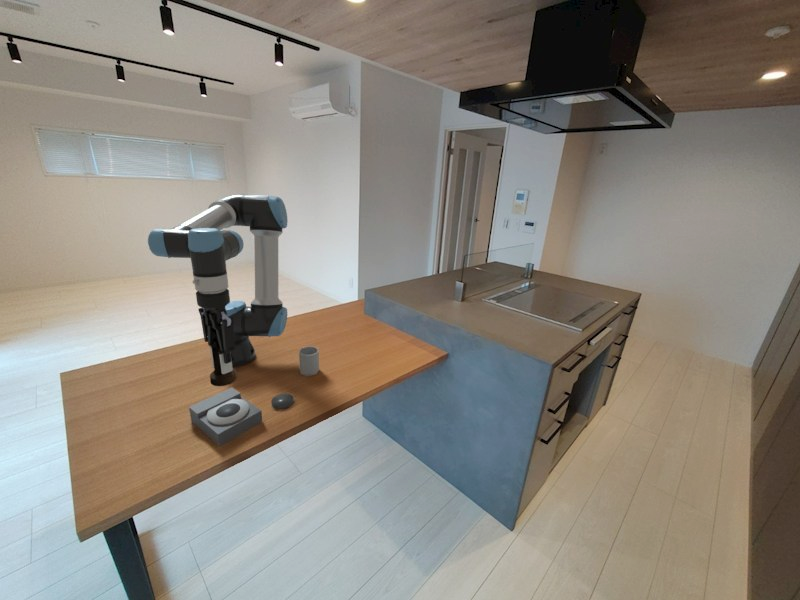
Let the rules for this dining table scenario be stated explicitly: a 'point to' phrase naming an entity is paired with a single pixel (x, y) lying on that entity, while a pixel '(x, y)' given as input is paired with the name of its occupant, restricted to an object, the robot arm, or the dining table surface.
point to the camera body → (225, 416)
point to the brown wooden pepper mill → (217, 375)
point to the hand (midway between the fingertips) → (222, 369)
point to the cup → (309, 360)
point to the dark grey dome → (282, 401)
